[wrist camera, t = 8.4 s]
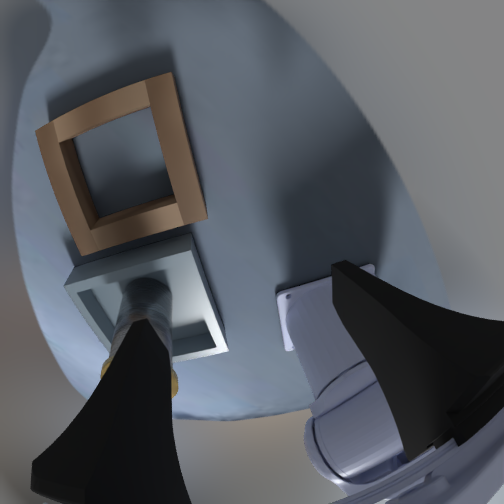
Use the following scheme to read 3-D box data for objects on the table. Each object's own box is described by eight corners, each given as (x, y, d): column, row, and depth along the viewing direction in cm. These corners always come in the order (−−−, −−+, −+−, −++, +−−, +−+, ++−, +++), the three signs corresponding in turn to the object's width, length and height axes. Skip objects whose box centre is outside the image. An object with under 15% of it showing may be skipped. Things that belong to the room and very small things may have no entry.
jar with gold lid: (165, 267, 19) (158, 356, 12) (184, 313, 21) (189, 398, 14) (110, 281, 18) (85, 367, 12) (134, 324, 21) (125, 406, 14)
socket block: (174, 76, 13) (171, 71, 11) (206, 207, 18) (207, 218, 16) (49, 127, 12) (35, 131, 11) (90, 242, 17) (81, 256, 15)
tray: (191, 232, 18) (191, 250, 16) (225, 330, 24) (228, 350, 22) (74, 267, 18) (63, 286, 16) (127, 350, 23) (124, 370, 21)
